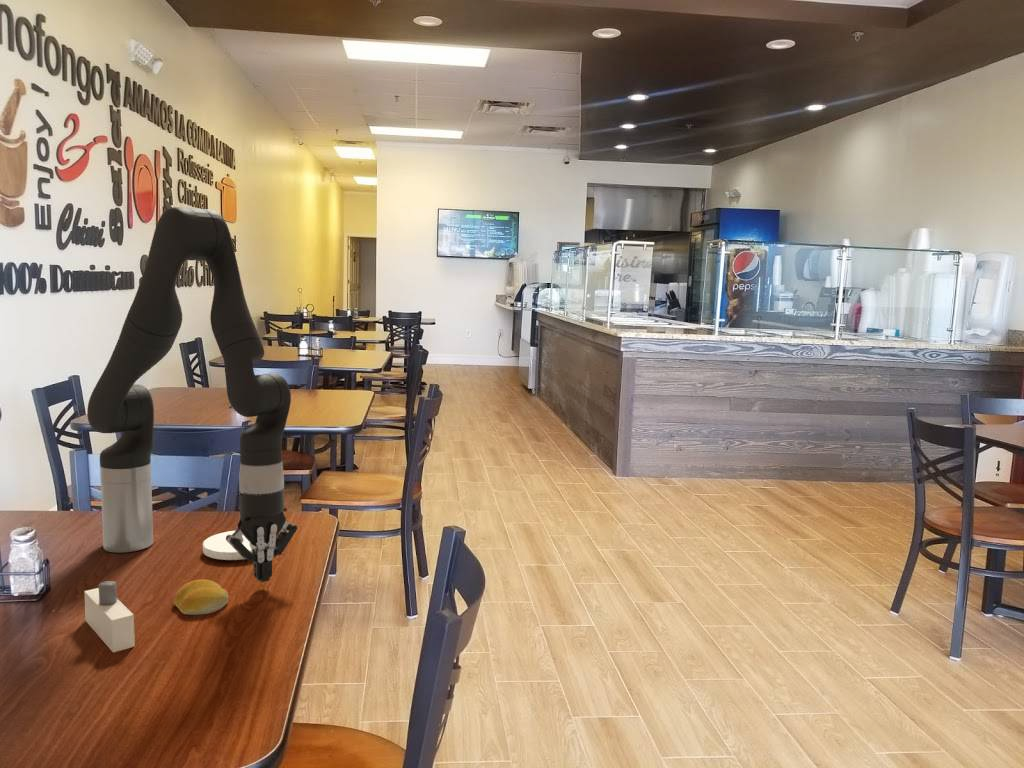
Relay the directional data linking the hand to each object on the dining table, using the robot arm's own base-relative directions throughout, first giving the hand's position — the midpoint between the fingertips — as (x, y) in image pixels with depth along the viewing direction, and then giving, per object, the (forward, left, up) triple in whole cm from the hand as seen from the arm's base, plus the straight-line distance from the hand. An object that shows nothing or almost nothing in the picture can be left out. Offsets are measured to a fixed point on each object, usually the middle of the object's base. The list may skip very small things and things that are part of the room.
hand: (262, 580), depth 137 cm
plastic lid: (-21, +5, -2) cm, 22 cm away
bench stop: (+1, -26, -2) cm, 26 cm away
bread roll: (0, -11, -2) cm, 11 cm away
